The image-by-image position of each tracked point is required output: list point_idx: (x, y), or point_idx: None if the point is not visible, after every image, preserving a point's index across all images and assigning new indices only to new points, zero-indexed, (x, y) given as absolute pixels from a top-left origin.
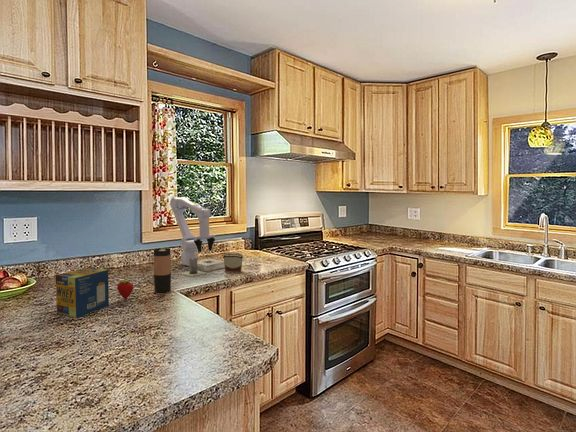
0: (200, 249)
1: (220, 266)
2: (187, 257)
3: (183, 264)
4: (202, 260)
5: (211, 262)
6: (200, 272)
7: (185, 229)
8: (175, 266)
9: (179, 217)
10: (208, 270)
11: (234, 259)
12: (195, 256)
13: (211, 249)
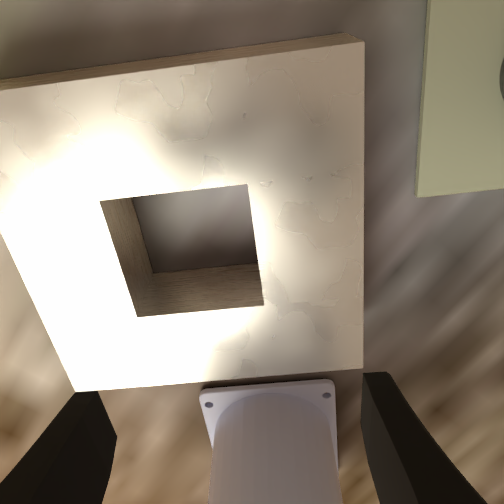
0: (416, 416)
1: (70, 73)
2: (335, 486)
3: (336, 442)
4: (209, 364)
5: (128, 265)
6: (479, 12)
7: None
8: None
9: None
10: (316, 38)
11: None
12: (243, 473)
13: (68, 405)
